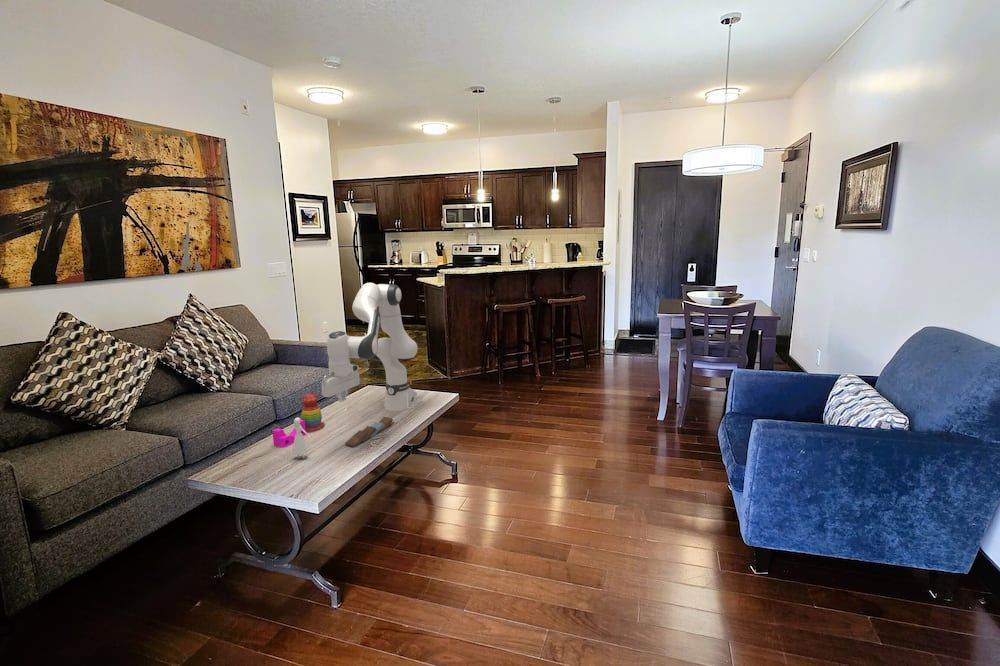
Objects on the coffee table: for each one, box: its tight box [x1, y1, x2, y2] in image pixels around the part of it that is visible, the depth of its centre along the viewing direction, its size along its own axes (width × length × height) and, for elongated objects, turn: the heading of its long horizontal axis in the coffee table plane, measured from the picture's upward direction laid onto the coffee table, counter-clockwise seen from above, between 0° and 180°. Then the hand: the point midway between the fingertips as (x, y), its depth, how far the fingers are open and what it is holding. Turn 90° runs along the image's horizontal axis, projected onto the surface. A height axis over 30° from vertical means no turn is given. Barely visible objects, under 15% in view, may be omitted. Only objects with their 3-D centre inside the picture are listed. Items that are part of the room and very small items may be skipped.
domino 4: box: [378, 416, 394, 433], centre depth 232 cm, size 2×5×10 cm
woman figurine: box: [286, 417, 312, 459], centre depth 199 cm, size 12×4×18 cm, turn 79°
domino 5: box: [384, 421, 396, 430], centre depth 235 cm, size 2×5×10 cm
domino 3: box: [369, 421, 384, 438], centre depth 226 cm, size 2×5×10 cm
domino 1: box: [344, 429, 369, 448], centre depth 215 cm, size 2×5×10 cm
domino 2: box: [361, 425, 377, 443], centre depth 220 cm, size 2×5×10 cm
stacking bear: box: [300, 393, 326, 433], centre depth 232 cm, size 11×10×18 cm
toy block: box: [271, 420, 307, 449], centre depth 219 cm, size 15×6×8 cm, turn 155°
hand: (342, 400), depth 205 cm, fingers closed
